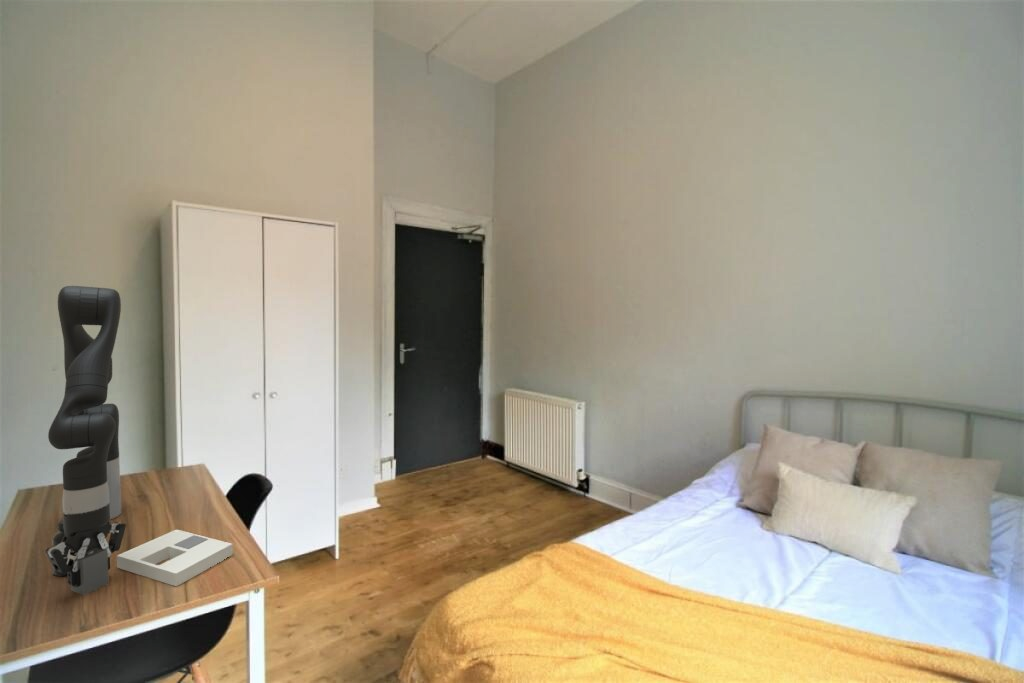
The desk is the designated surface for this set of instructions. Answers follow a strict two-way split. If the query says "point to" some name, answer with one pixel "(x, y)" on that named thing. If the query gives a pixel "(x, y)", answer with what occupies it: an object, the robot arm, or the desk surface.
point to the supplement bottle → (57, 540)
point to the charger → (93, 571)
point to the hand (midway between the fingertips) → (89, 579)
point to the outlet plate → (175, 557)
